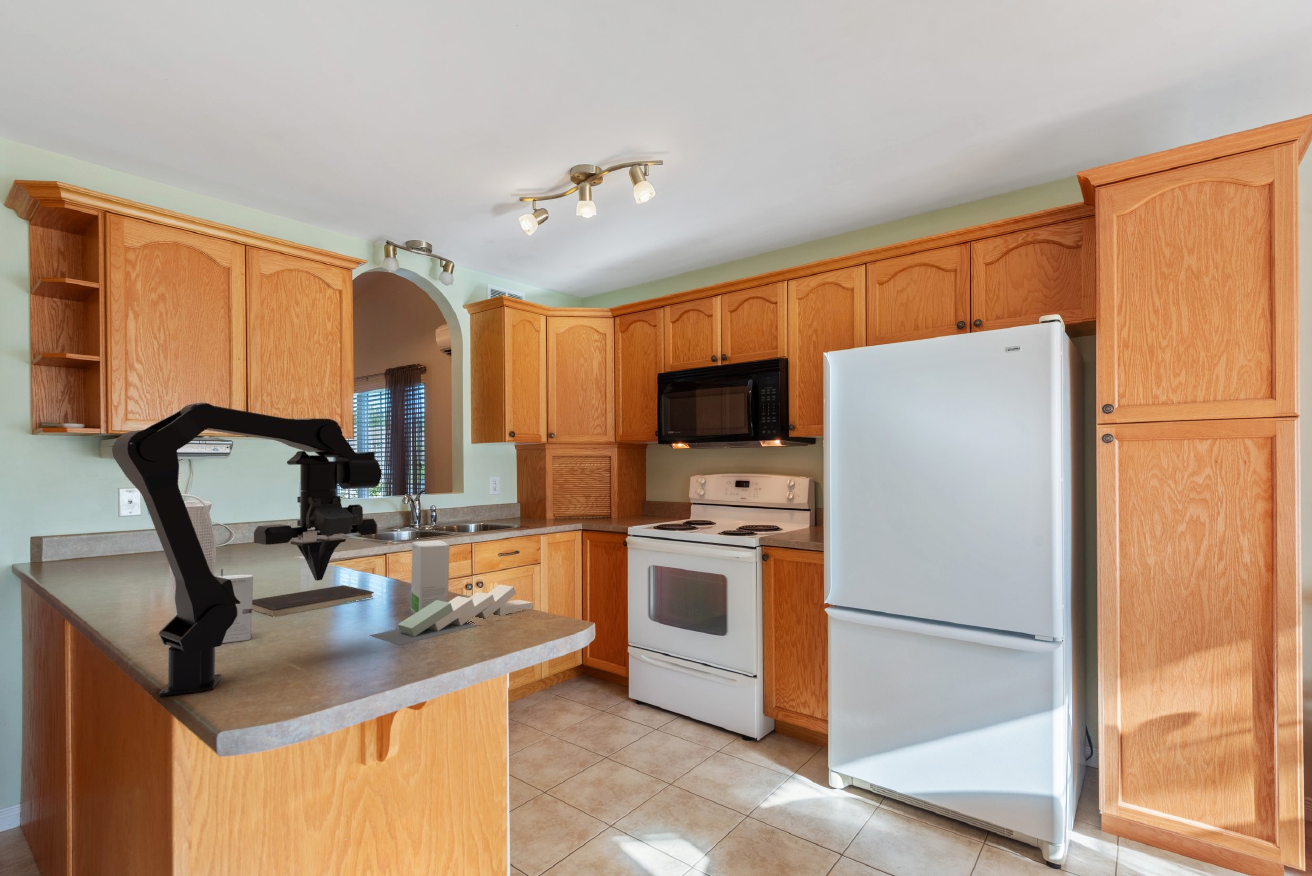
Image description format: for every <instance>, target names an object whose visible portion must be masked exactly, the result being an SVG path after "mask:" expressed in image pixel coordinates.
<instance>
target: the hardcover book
mask: <svg viewBox="0 0 1312 876" xmlns="http://www.w3.org/2000/svg"><path fill="white" fill-rule="evenodd" d="M374 593H375V592H374V591H371V590H367V589H363V588H358V587H354V586H350V585H349V586H348V585H344V584H342V585H336V586H330V587H323V588H318V589H317V588H316V589H311V590H305V591H299V592H293V593H287V594H286V593H285V594H280V595H274V596H273V595H272V596H268V597H262V598H256V599H252V609H253V610H252V611H254V610H256V611H255V612H258V611H259V613H261V612H262V613H261V614H264V613H266V614H265V615H268V616H270V615H271V617H273V616H275V617H280V615H281V616H286V615H290V614H289V613H292V614H295V613H294V612H297V613H301V612H300V611H303V612H306V611H305V610H308V611H312V610H311V609H314V610H318V609H317V608H319V609H322V608H323V607H324V608H329V606H330V607H335V606H340V604H341V605H343V604H342V603H346V604H348V603H347V602H352V601H356V600H362V599H366V598H371V597H372V598H373V596H374V595H373V594H374ZM352 603H353V602H352ZM334 605H335V606H334ZM324 608H323V609H324ZM285 614H286V615H285Z"/></svg>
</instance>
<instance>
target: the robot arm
mask: <svg viewBox="0 0 1312 876" xmlns="http://www.w3.org/2000/svg"><path fill="white" fill-rule="evenodd" d="M204 431H209V432H210V431H212V432H217V433H223V434H231V435H232V434H233V435H239V436H244V437H250V438H258V439H265V440H272V441H277V442H279V443H282V444H284V445H286V446H289V447H291V448H294V449H298V451H297V452H296V453H295V454H294V455H293V456H292V457H290V458H289V459H288V460H287V461H286V464H287V465H288V466H298V465H300V468H299V469H300V474H299V476H300V477H299V478H300V480H299V481H300V491H299V492H300V493H299V495H300V496H297V502H296V503H299V504H300V505H299V508H300V509H299V510H300V511H299V515H300V516H299V519H298V520H296V521H297V524H296V527H294V526H293V527H292V525H290V524H283V523H282V524H279V523H278V524H267V525H266V524H265V525H258V526H257V527H256V528H255V529H254V532H253V543H254V544H259V545H266V546H267V545H268V546H269V545H270V546H271V545H281V544H288V543H290V545H294V546H296V547H298V550H299V551H300V553H301V554H302V556H303V557H304V560H305V561H306V564H307V565H308V567H309V568H308V569H309V571H310V572H311V574H312V576H313V579H314V580H315V581H316V582H317V581H322V580H323V579H324V577H325V573H326V571H327V569H328V568H327V567H328V565H329V563H330V561H331V558H332V556H333V553H334V552H335V550H336V549H337V548H338V547H339V545H340V544H341V543H345V542H346V541H347V538H344V537H343V536H344V535H349V534H358V535H360V536H369V535H371V536H372V535H378V523H377V521H376V520H375V518H371V517H370V518H368V517H364V513H363V511H364V510H363V506H362V505H361V504H358V503H357V504H348V506H345V507H343V506H342V499H341V496H340V495H338V486H339V487H340V489H342V490H354V489H356V490H357V489H375V488H376V487H378V486H379V484H380V482H381V480H382V472H383V471H382V469H381V466H380V463H379V461H378V460H377V459H376V457H375V456H376V454H375V452H374V451H363V452H355V450H354V449H353V448H352V445H350V443H349V442H348V441H347V439H346V438H345V437H344V435H343V431H342V427H341V426H340V424H339V423H338V422H337V421H336V420H334V419H331V418H317V417H316V418H311V417H310V418H286V417H285V418H284V417H280V416H275V415H269V414H268V415H267V414H264V413H263V414H262V413H258V412H257V413H256V412H251V411H245V410H239V409H234V408H229V407H228V408H227V407H224V406H223V407H222V406H217V405H213V404H210V403H207V402H197V403H190V404H187V405H185V406H184V407H182V409H180V410H179V411H176V412H175V413H173V414H171V415H169V416H167V417H166V418H164V419H162V420H159V421H158V422H155V423H154V424H152V425H150V426H148V427H147V428H144V429H140V430H139V429H138V430H131V431H127V432H125V433H122V434H121V435H120V436H118V437H117V438H116V440H115V441H114V443H113V444H112V448H111V452H112V457H113V459H114V460H115V462H116V464H118V467H119V468H120V470H121V471H122V472H123V474H124V475H125V477H126V479H128V481H130V483H131V484H132V485H133V486H134V487H135V488H136V490H138V492H139V493H140V494H141V495H142V499H143V501H144V503H145V505H146V508H147V512H148V513H149V516H150V518H151V521H152V523H153V524H152V525H154V526H153V527H154V528H155V531H156V534H157V536H158V540H159V541H160V544H161V547H162V548H163V551H164V554H165V556H166V560H167V562H168V566H169V565H170V567H171V570H172V572H173V575H174V577H175V580H176V590H175V601H174V604H175V603H176V604H175V609H176V610H177V615H176V616H175V615H174V616H175V617H174V616H173V618H172V619H171V620H169V622H168V623H167V624H166V625H164V627H163V628H162V629H161V630H160V631H159V632H158V635H159V638H160V640H161V642H162V644H163V645H164V646H168V656H167V657H168V659H167V660H168V664H167V667H168V670H167V671H168V673H167V684H166V685H165V686H164V687H163V688H162V689H161V690H160V691H159V694H158V695H159V696H160V697H164V696H172V695H181V694H189V693H196V692H204V691H210V690H214V688H215V687H216V685H217V684H218V683H219V681H220V680H222V678H223V677H222V676H223V675H222V673H217V674H216V648H217V647H221V646H222V645H223V643H222V642H223V639H224V637H225V634H226V632H227V629H229V628H230V627H231V625H232V624H233V623H234V621H235V619H236V618H237V614H238V611H237V606H236V604H240V601H239V600H238V599H237V598H236V597H235V595H234V591H233V585H232V582H231V580H230V579H225V578H220V577H217V576H215V574H214V575H213V574H212V573H211V571H210V569H209V566H208V563H207V561H206V558H205V556H204V553H203V550H202V548H201V545H200V542H199V540H198V537H197V534H196V532H195V529H194V527H193V524H192V521H191V519H190V516H189V513H188V511H187V508H186V505H185V503H184V502H185V500H184V498H183V496H182V495H181V494H182V493H181V491H180V487H179V473H180V462H179V461H180V460H179V456H178V450H180V449H181V448H183V447H185V446H186V445H188V444H190V443H191V442H192V441H193V440H194V439H195V438H197V437H198V436H199V435H201V434H202V433H203V432H204ZM308 453H315V454H313V455H312V454H311V455H310V454H308ZM329 458H334V461H330V460H329ZM318 536H319V538H318ZM292 539H293V540H292ZM176 610H175V611H176Z"/></svg>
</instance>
